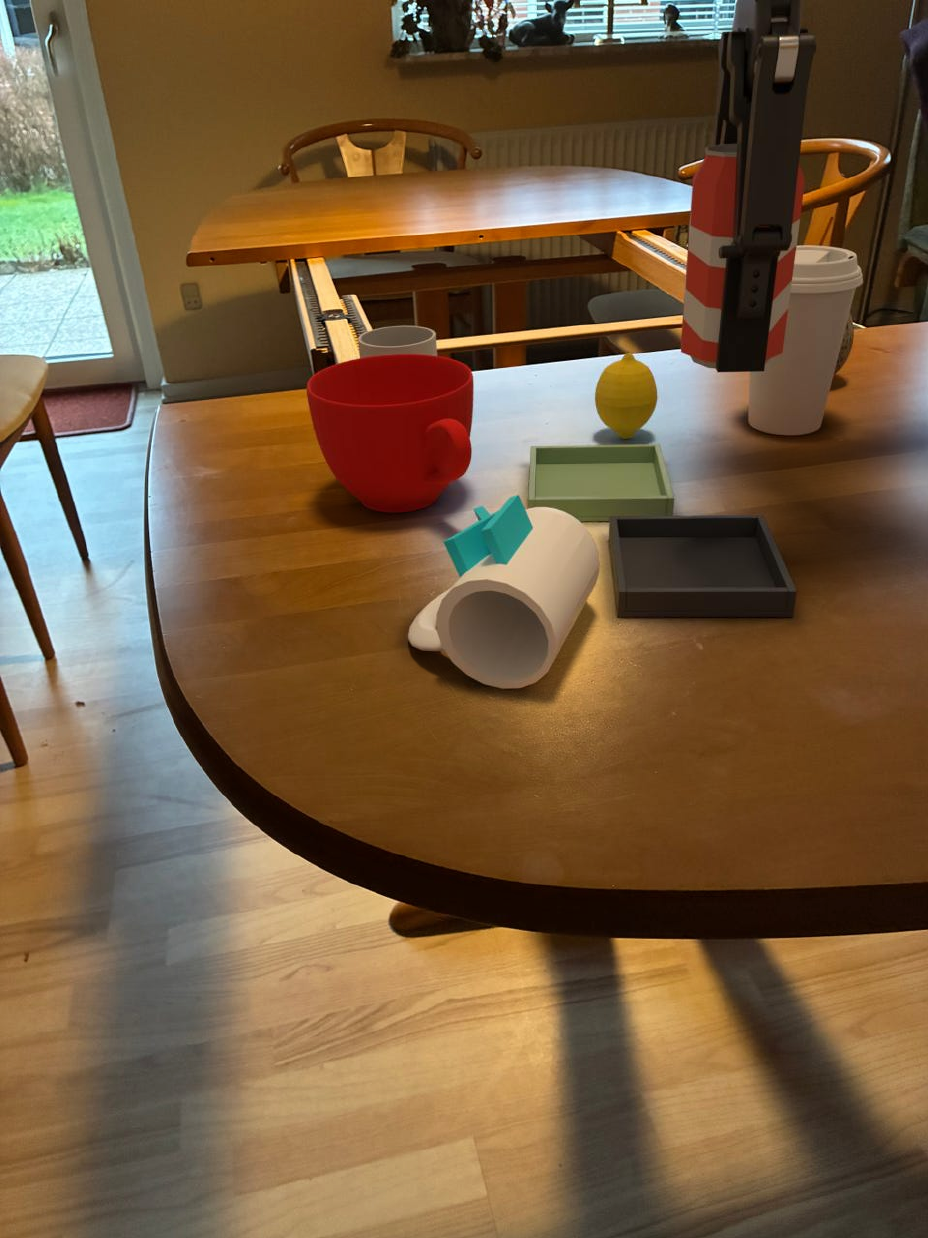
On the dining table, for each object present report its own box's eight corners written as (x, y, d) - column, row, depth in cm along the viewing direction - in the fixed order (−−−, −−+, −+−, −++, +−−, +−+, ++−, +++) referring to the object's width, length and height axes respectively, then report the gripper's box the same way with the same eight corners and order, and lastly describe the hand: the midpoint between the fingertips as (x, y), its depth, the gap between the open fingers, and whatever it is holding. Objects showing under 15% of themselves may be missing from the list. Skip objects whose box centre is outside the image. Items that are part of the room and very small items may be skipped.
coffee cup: (794, 450, 83) (820, 271, 75) (710, 422, 90) (725, 255, 82) (860, 423, 88) (891, 252, 80) (775, 398, 94) (796, 239, 86)
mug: (574, 450, 59) (510, 534, 49) (626, 576, 62) (575, 677, 53) (421, 499, 65) (338, 582, 56) (475, 612, 68) (406, 708, 59)
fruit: (630, 422, 91) (634, 338, 86) (667, 440, 86) (673, 352, 82) (582, 434, 88) (583, 349, 84) (617, 453, 84) (621, 364, 80)
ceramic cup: (395, 567, 68) (382, 435, 63) (296, 491, 80) (278, 375, 75) (538, 517, 74) (538, 392, 69) (426, 453, 86) (418, 343, 81)
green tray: (658, 464, 82) (659, 443, 81) (672, 520, 72) (674, 497, 71) (530, 466, 83) (530, 445, 82) (528, 521, 73) (528, 499, 72)
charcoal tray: (760, 537, 69) (763, 514, 68) (792, 617, 60) (797, 591, 59) (608, 539, 70) (609, 515, 69) (617, 617, 61) (618, 591, 60)
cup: (446, 415, 95) (441, 325, 90) (430, 453, 86) (423, 356, 82) (376, 415, 96) (367, 326, 91) (353, 453, 87) (342, 356, 83)
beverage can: (680, 374, 58) (697, 155, 51) (679, 344, 63) (694, 142, 57) (784, 375, 57) (814, 152, 50) (774, 344, 62) (800, 139, 56)
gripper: (680, -84, 56) (655, 314, 68) (732, -130, 40) (688, 405, 52) (810, -92, 55) (762, 312, 67) (919, -142, 39) (829, 403, 51)
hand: (730, 351), depth 59 cm, fingers closed on beverage can, 6 cm apart
